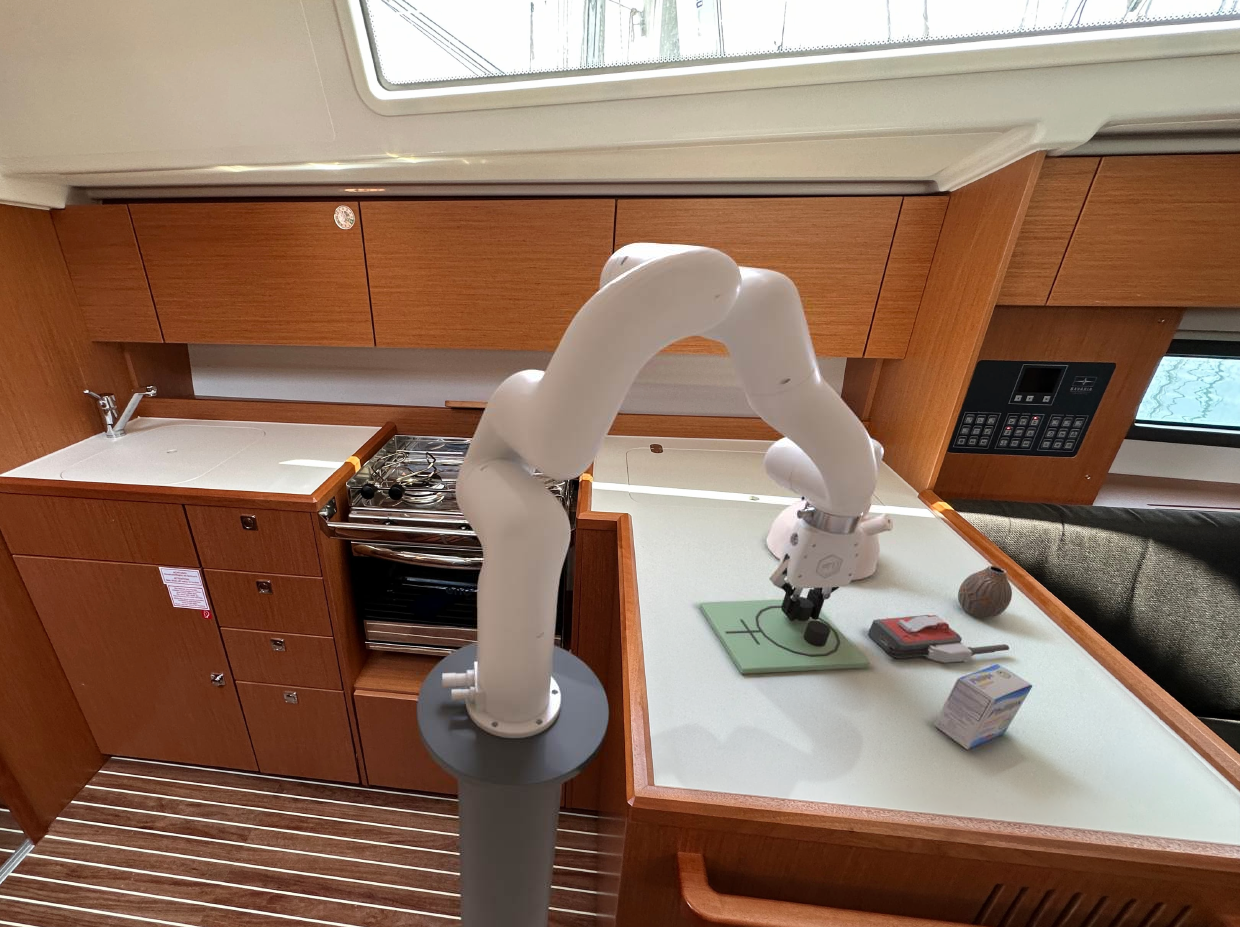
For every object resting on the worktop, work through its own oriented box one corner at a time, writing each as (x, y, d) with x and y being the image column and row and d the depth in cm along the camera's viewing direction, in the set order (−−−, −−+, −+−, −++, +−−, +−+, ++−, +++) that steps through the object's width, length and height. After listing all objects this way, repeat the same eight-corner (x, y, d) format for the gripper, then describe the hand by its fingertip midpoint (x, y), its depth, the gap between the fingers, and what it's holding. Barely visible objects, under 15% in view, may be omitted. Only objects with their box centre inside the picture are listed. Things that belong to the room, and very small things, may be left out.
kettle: (850, 595, 101) (883, 506, 92) (746, 547, 115) (767, 466, 106) (893, 559, 112) (927, 477, 104) (794, 520, 126) (816, 444, 118)
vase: (1002, 629, 93) (1026, 585, 89) (953, 614, 97) (974, 572, 93) (998, 608, 99) (1020, 566, 95) (951, 595, 102) (970, 554, 98)
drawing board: (741, 674, 82) (742, 668, 81) (698, 607, 96) (700, 602, 95) (867, 667, 84) (869, 662, 83) (808, 603, 98) (809, 598, 98)
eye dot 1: (795, 621, 90) (799, 608, 89) (784, 609, 93) (788, 596, 92) (813, 620, 90) (818, 607, 89) (802, 608, 93) (807, 596, 92)
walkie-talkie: (898, 671, 83) (1010, 658, 87) (909, 648, 81) (1023, 636, 85) (857, 633, 91) (961, 623, 94) (866, 611, 89) (972, 601, 92)
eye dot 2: (810, 647, 86) (815, 634, 85) (799, 633, 89) (803, 620, 88) (830, 646, 86) (834, 633, 85) (818, 633, 89) (822, 620, 88)
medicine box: (966, 751, 71) (995, 701, 67) (932, 725, 74) (957, 676, 70) (1005, 734, 73) (1035, 685, 70) (970, 709, 77) (996, 661, 73)
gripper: (792, 530, 79) (762, 632, 88) (899, 527, 81) (859, 627, 89) (766, 506, 86) (741, 603, 94) (865, 504, 87) (831, 599, 96)
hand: (799, 614), depth 92 cm, fingers closed on eye dot 1, 3 cm apart
